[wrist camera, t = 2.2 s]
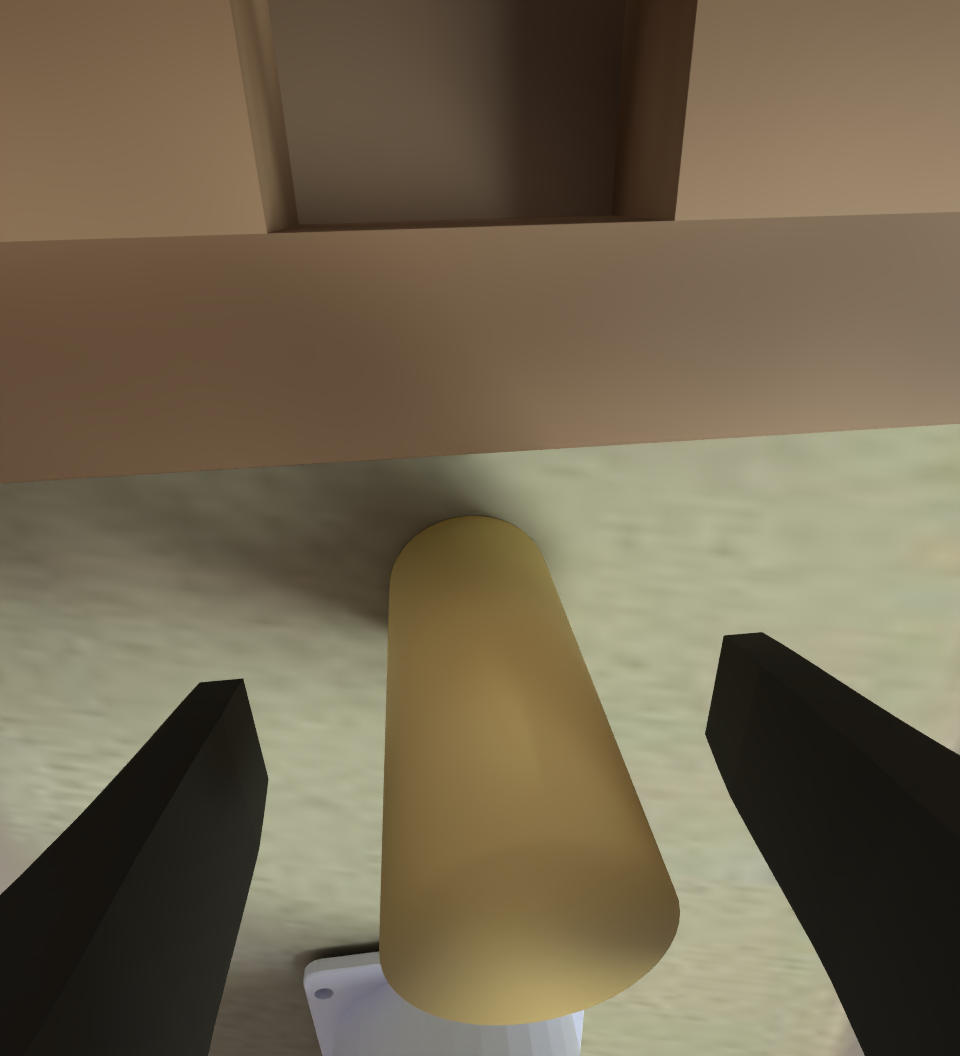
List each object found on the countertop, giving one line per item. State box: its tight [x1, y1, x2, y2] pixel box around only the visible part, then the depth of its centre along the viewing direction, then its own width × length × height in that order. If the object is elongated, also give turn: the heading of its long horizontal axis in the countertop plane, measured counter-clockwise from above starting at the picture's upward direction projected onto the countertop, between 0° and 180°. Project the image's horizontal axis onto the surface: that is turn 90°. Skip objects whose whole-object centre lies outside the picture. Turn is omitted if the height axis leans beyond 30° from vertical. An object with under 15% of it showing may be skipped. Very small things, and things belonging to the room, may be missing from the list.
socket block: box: [0, 0, 960, 483], centre depth 7 cm, size 10×14×3 cm
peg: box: [379, 516, 680, 1025], centre depth 10 cm, size 3×3×7 cm
